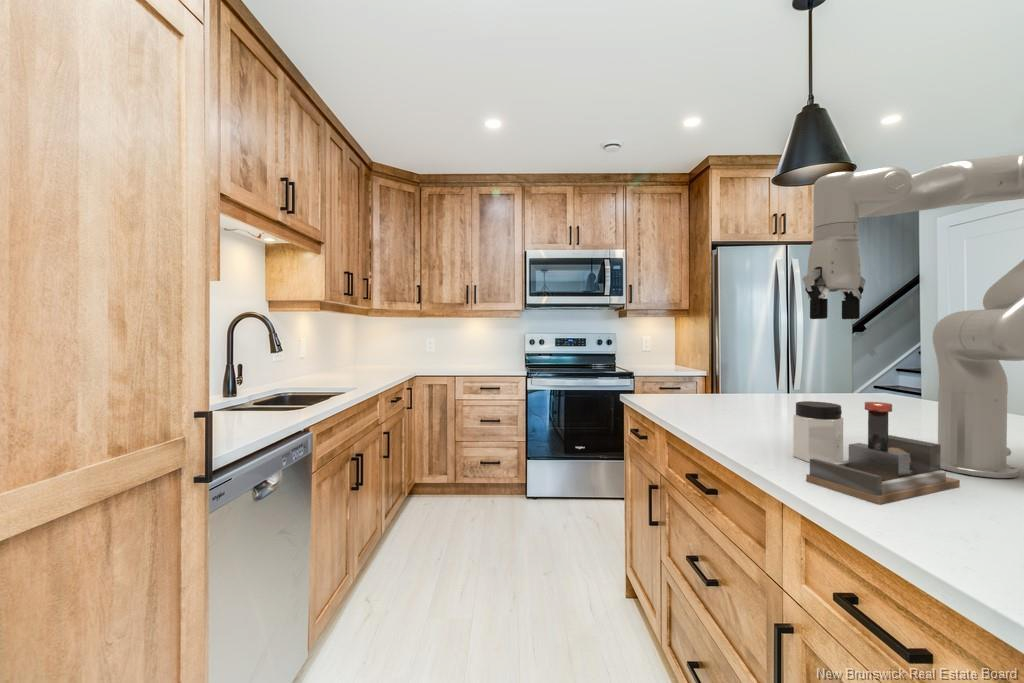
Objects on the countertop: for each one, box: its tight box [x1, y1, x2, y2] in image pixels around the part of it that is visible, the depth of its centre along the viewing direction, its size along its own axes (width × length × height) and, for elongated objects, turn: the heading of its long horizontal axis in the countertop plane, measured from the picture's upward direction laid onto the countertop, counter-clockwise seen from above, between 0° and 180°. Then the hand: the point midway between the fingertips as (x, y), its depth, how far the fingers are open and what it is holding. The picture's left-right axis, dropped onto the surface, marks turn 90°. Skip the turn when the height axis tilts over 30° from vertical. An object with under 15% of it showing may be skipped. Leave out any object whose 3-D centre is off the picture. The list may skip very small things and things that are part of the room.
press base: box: [805, 434, 961, 505], centre depth 80 cm, size 22×12×7 cm, turn 110°
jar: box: [792, 400, 844, 463], centre depth 95 cm, size 9×8×12 cm
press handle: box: [848, 401, 910, 481], centre depth 79 cm, size 4×8×13 cm, turn 20°
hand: (834, 318), depth 91 cm, fingers open, 9 cm apart
